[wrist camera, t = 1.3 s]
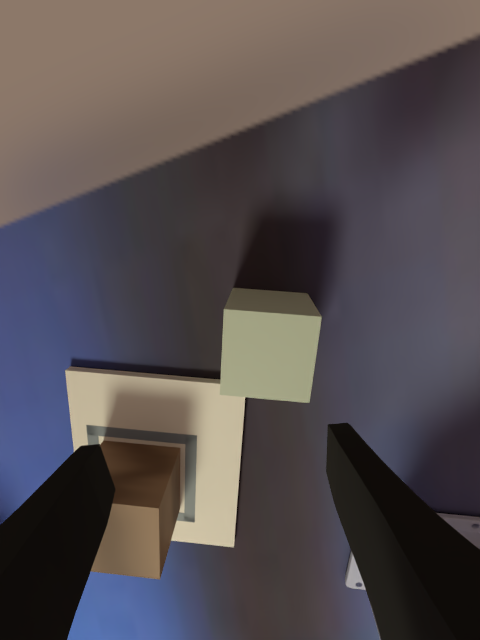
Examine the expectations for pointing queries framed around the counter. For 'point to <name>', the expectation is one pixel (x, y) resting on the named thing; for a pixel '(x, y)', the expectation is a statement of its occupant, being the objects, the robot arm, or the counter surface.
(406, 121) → the counter surface
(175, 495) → the walnut block
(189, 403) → the cream square tray
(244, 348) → the sage block
